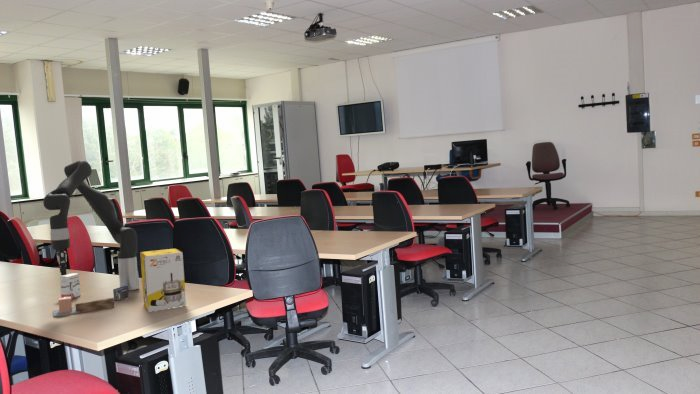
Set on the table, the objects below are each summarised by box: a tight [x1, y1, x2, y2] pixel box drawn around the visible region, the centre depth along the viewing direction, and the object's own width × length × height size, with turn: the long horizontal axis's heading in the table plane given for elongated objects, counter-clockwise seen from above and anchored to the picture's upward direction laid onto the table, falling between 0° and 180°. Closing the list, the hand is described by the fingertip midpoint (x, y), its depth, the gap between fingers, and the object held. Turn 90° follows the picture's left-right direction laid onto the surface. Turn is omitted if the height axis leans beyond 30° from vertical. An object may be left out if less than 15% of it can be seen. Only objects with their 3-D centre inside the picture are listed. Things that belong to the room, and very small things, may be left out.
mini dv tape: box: [112, 286, 129, 302], centre depth 275 cm, size 8×2×6 cm, turn 160°
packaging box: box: [139, 248, 187, 313], centre depth 257 cm, size 16×16×25 cm
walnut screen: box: [75, 297, 115, 313], centre depth 257 cm, size 16×2×4 cm, turn 120°
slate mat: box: [52, 306, 80, 318], centre depth 254 cm, size 10×12×1 cm
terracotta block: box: [58, 296, 73, 313], centre depth 253 cm, size 5×5×6 cm
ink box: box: [59, 272, 81, 300], centre depth 285 cm, size 9×5×12 cm, turn 168°
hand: (63, 273), depth 252 cm, fingers open, 8 cm apart
